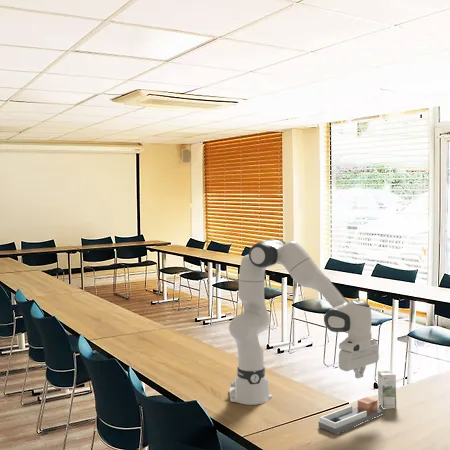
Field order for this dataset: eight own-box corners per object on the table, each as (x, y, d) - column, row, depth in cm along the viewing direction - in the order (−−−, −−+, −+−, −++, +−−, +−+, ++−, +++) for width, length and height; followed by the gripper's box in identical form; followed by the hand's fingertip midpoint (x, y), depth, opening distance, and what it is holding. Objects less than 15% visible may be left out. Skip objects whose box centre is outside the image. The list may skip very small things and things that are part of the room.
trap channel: (336, 434, 208) (336, 424, 208) (318, 426, 216) (318, 416, 215) (384, 415, 226) (384, 405, 225) (365, 408, 233) (365, 399, 232)
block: (367, 413, 222) (367, 403, 222) (357, 410, 226) (357, 400, 226) (377, 410, 226) (377, 400, 226) (367, 406, 230) (367, 396, 230)
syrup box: (392, 404, 237) (391, 369, 236) (397, 409, 231) (395, 373, 230) (378, 405, 237) (377, 370, 236) (383, 410, 231) (381, 374, 230)
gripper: (369, 336, 230) (369, 370, 231) (335, 345, 218) (335, 380, 219) (382, 339, 225) (382, 374, 226) (348, 348, 213) (348, 385, 214)
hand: (359, 377), depth 222 cm, fingers closed
